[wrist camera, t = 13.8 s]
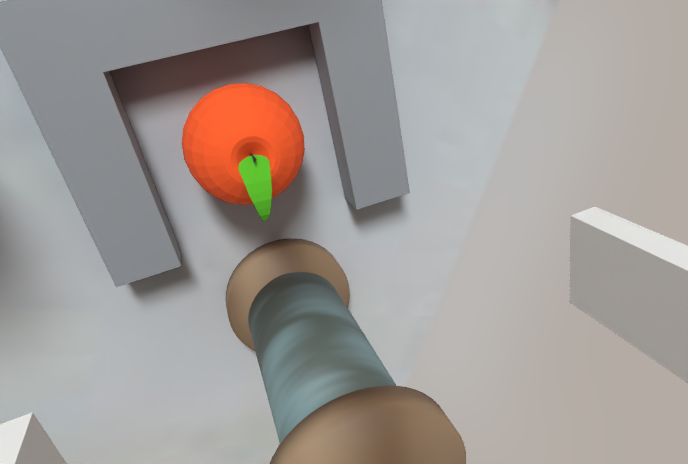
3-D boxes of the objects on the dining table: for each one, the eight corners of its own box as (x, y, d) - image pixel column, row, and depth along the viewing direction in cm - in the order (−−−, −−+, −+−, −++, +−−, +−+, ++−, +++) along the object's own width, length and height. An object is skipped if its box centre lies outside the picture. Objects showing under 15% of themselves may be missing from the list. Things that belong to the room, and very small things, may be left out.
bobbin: (245, 360, 38) (299, 598, 22) (209, 262, 34) (243, 467, 18) (352, 320, 40) (473, 514, 24) (330, 223, 36) (456, 378, 20)
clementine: (302, 185, 34) (332, 221, 28) (203, 211, 33) (211, 255, 26) (278, 67, 31) (306, 77, 24) (165, 90, 29) (164, 107, 23)
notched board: (119, 269, 32) (116, 287, 30) (-4, 7, 25) (-20, 5, 23) (395, 182, 36) (409, 192, 34) (356, -64, 29) (371, -71, 27)
